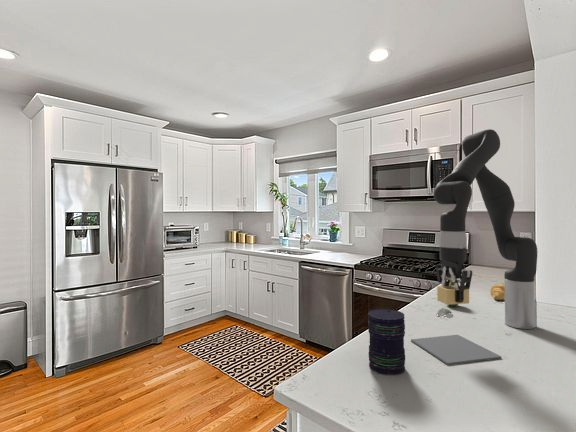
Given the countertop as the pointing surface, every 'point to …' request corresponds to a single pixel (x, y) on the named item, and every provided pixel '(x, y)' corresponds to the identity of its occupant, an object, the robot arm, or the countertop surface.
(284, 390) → the countertop surface
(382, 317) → the storage jar
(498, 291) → the croissant
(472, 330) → the countertop surface
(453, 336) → the mat
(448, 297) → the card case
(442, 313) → the grey-green jagged piece
